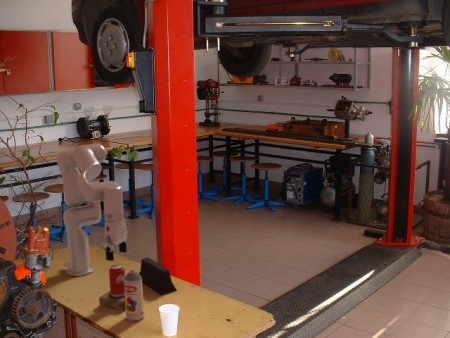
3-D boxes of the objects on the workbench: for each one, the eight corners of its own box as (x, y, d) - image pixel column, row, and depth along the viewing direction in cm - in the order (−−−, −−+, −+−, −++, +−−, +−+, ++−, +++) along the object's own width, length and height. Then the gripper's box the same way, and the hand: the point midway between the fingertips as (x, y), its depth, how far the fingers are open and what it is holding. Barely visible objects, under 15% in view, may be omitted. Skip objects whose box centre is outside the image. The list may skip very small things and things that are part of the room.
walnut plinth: (99, 307, 226) (99, 297, 226) (115, 295, 237) (115, 285, 237) (125, 311, 222) (124, 300, 221) (140, 299, 233) (139, 289, 232)
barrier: (135, 279, 255) (134, 259, 253) (152, 275, 260) (151, 254, 258) (159, 296, 236) (158, 274, 234) (177, 291, 241) (176, 269, 239)
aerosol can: (123, 320, 214) (119, 271, 210) (132, 313, 220) (129, 265, 216) (138, 323, 212) (135, 273, 208) (147, 315, 218) (144, 267, 214)
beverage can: (123, 297, 224) (121, 269, 222) (108, 297, 224) (106, 268, 223) (128, 291, 230) (126, 264, 228) (113, 291, 231) (111, 263, 229)
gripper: (110, 223, 213) (112, 264, 217) (133, 210, 229) (135, 250, 233) (93, 221, 216) (96, 262, 220) (117, 209, 232) (120, 248, 235)
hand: (116, 256), depth 226 cm, fingers open, 9 cm apart
